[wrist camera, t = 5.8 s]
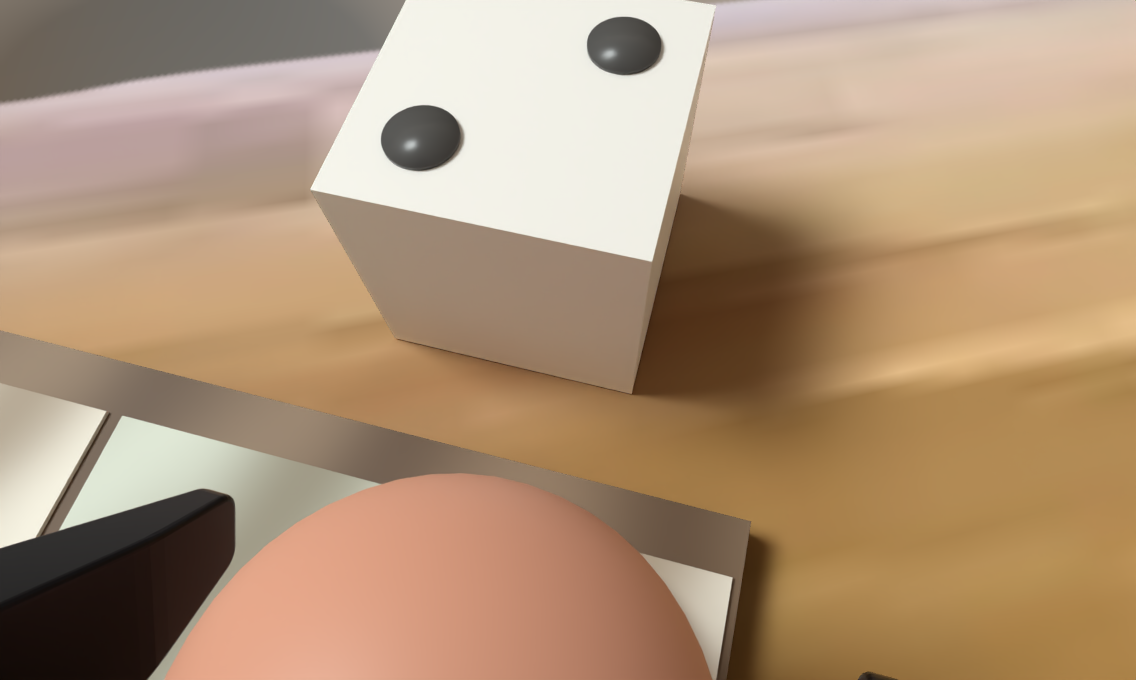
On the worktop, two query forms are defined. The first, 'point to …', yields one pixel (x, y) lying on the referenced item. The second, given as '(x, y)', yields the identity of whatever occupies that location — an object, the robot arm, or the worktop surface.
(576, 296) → the die
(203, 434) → the board
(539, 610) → the pawn
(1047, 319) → the worktop surface
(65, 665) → the robot arm
